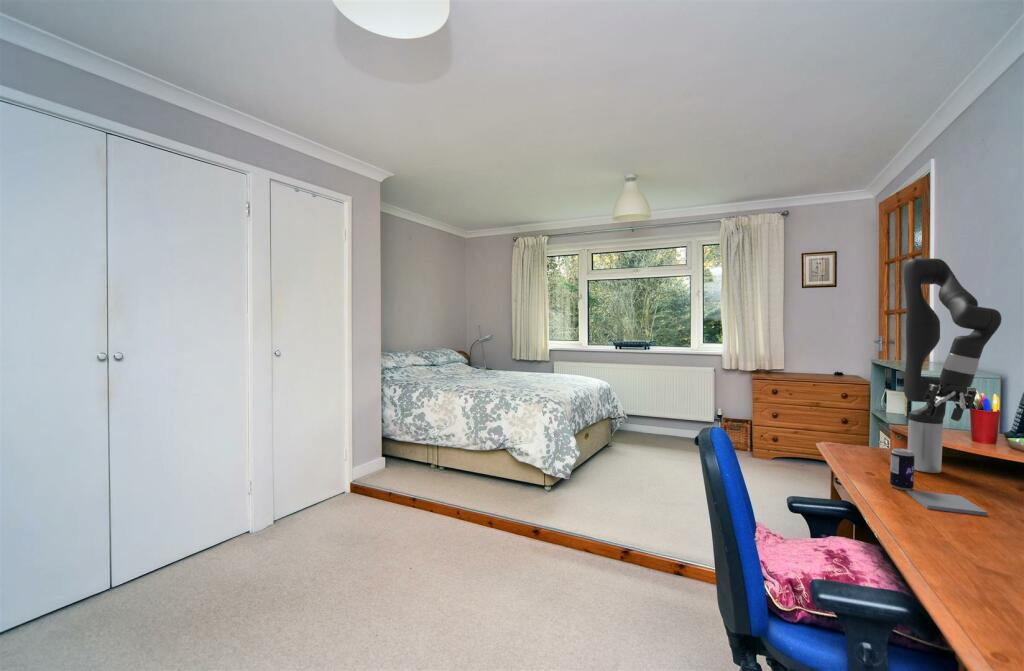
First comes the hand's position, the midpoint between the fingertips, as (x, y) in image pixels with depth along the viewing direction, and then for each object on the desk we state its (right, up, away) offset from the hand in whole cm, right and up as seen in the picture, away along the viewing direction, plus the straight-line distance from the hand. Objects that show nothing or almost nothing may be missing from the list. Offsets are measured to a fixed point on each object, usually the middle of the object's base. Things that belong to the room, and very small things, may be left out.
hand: (942, 418), depth 150 cm
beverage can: (-15, -22, -2) cm, 26 cm away
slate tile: (-13, -22, -15) cm, 29 cm away
